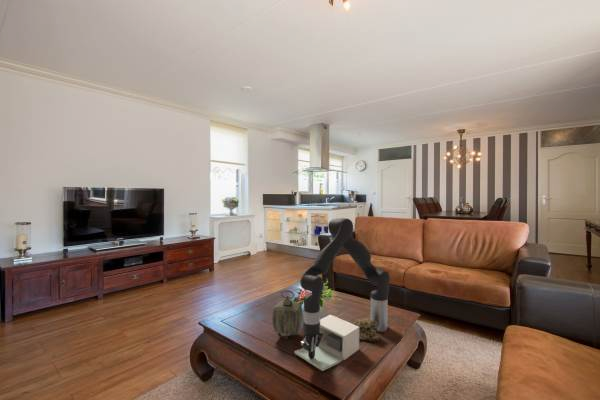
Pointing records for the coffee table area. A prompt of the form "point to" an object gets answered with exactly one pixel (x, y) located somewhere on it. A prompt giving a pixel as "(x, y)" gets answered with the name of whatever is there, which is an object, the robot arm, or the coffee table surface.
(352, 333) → the case
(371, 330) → the mineral specimen
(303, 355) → the door
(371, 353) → the coffee table surface
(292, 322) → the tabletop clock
